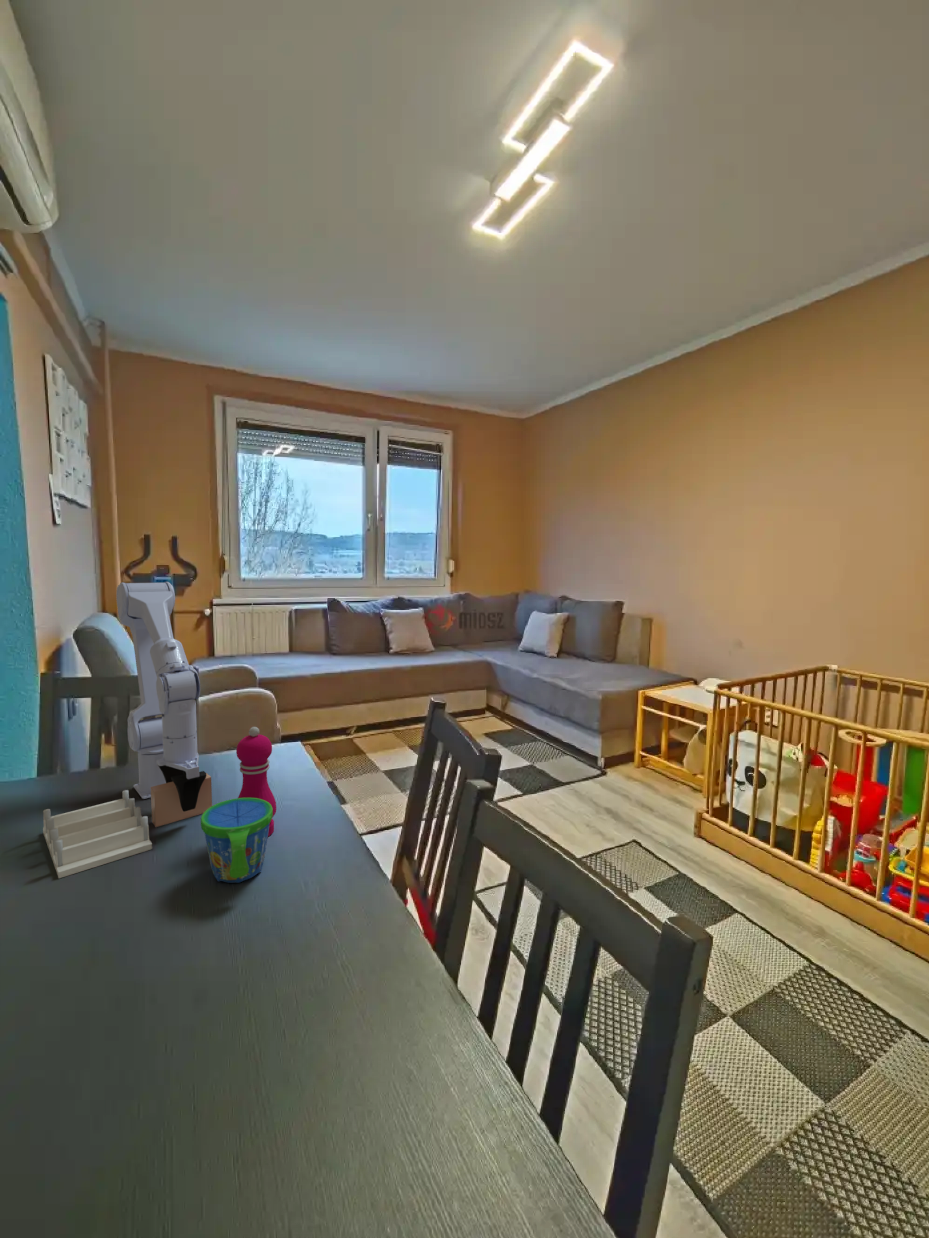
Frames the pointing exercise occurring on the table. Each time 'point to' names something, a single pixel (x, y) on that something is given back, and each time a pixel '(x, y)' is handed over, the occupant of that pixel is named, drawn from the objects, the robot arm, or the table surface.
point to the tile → (177, 803)
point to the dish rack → (95, 835)
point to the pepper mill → (256, 768)
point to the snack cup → (237, 837)
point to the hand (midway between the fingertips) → (182, 802)
